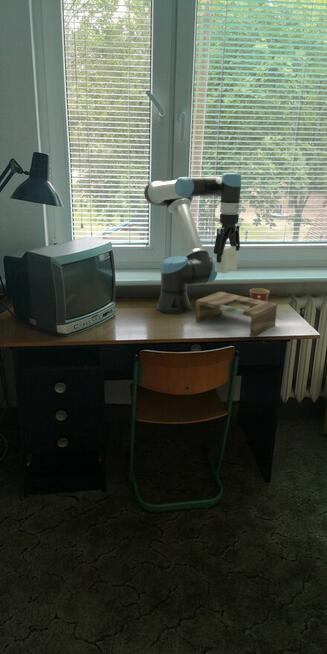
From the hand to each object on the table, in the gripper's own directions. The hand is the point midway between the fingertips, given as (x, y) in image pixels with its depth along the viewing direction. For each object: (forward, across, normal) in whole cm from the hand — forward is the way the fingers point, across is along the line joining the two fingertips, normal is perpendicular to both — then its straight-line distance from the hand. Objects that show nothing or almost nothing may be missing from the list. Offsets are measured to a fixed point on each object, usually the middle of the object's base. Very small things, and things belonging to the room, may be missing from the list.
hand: (225, 267), depth 204 cm
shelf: (+22, -2, -8) cm, 24 cm away
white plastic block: (+1, 0, 0) cm, 1 cm away
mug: (+23, +16, -8) cm, 29 cm away
